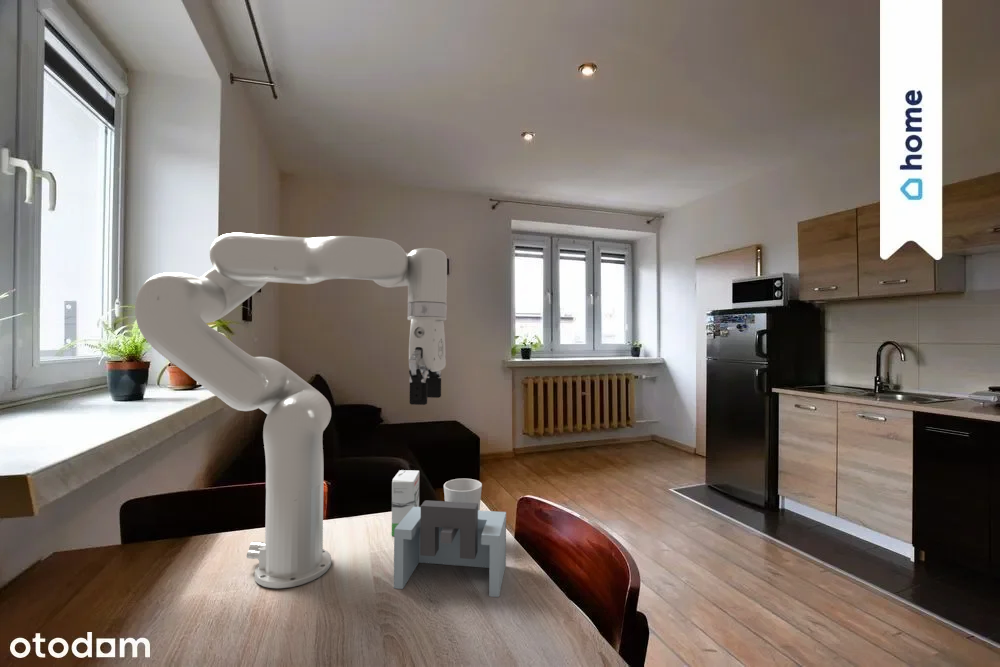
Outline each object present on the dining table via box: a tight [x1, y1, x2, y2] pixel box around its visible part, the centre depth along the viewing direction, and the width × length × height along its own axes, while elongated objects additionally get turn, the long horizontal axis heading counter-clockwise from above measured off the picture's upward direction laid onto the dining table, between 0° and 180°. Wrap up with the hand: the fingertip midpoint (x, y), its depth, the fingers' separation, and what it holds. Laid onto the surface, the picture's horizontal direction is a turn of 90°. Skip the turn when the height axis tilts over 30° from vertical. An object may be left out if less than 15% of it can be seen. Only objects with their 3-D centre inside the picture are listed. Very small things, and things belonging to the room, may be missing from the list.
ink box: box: [391, 469, 420, 537], centre depth 97 cm, size 9×5×12 cm, turn 2°
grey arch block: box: [420, 499, 478, 559], centre depth 76 cm, size 10×3×8 cm, turn 83°
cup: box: [443, 478, 483, 511], centre depth 91 cm, size 8×8×12 cm
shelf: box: [393, 506, 507, 598], centre depth 78 cm, size 18×10×10 cm, turn 83°
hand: (426, 400), depth 85 cm, fingers open, 9 cm apart
